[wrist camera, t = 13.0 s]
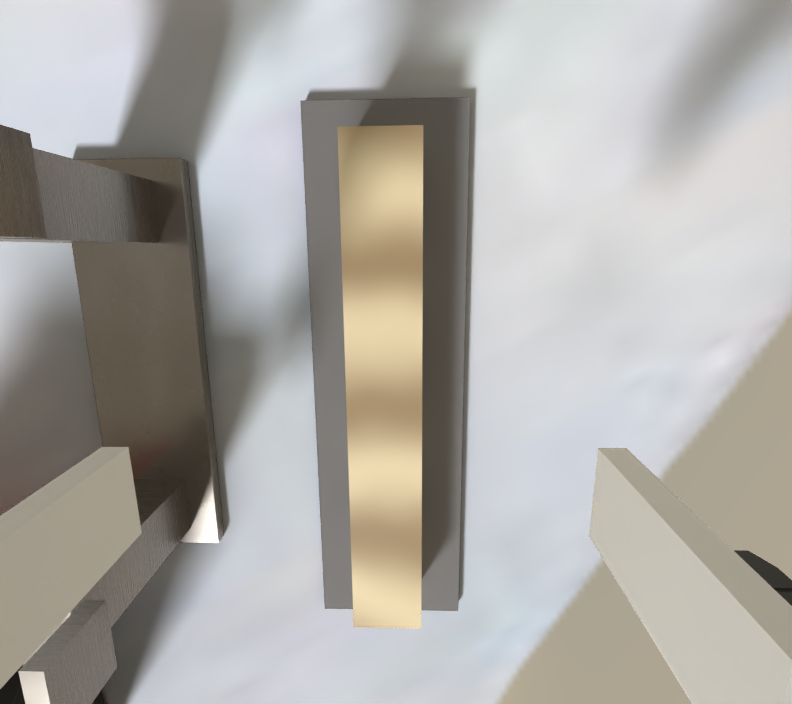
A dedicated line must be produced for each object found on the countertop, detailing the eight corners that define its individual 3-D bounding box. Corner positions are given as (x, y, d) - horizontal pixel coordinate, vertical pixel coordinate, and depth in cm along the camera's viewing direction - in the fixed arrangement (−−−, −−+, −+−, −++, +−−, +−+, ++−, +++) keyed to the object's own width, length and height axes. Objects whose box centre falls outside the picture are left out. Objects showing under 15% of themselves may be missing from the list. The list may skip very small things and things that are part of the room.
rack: (70, 162, 23) (-331, 60, 11) (187, 161, 23) (-82, 54, 11) (125, 533, 28) (-112, 768, 15) (223, 534, 28) (66, 773, 15)
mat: (303, 104, 23) (300, 100, 22) (468, 101, 22) (470, 97, 22) (326, 601, 29) (324, 608, 28) (457, 603, 28) (458, 610, 28)
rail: (348, 145, 22) (337, 126, 19) (421, 144, 22) (423, 125, 19) (360, 580, 27) (353, 627, 24) (420, 581, 27) (421, 628, 24)
